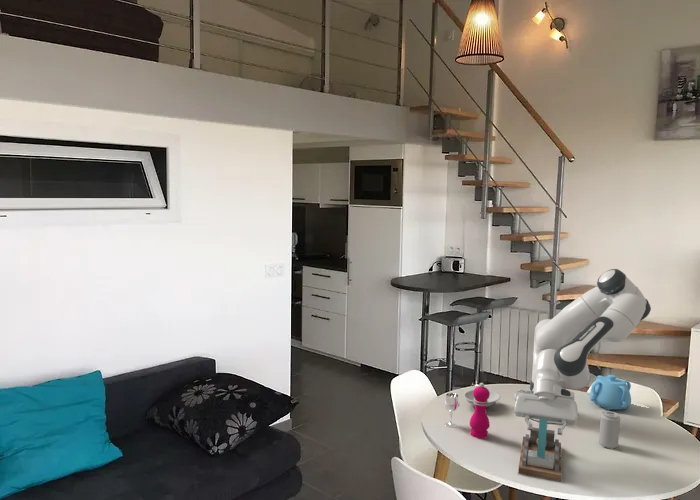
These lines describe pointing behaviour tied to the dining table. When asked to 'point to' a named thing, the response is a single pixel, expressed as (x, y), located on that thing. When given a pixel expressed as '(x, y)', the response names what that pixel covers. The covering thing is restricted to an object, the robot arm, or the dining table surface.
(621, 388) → the decorative pot
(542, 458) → the track slider block
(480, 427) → the pepper mill
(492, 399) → the dish
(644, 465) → the dining table surface
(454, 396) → the wineglass
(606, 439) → the beverage can
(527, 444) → the tray
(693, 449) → the dining table surface
